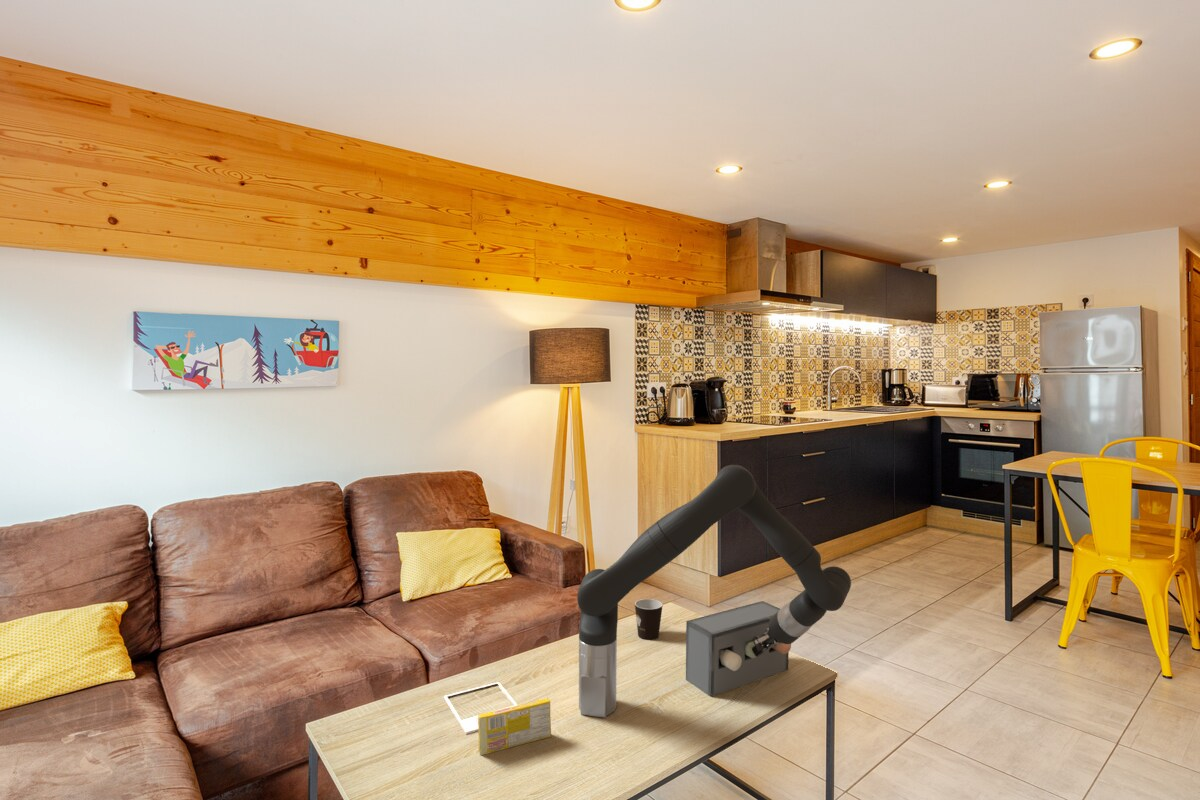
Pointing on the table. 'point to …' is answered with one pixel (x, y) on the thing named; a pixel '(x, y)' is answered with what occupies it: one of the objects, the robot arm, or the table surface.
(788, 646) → the terracotta button
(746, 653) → the sage button
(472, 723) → the photo frame
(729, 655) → the cream button
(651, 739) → the table surface
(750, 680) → the console
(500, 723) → the candy box
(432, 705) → the table surface
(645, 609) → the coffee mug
